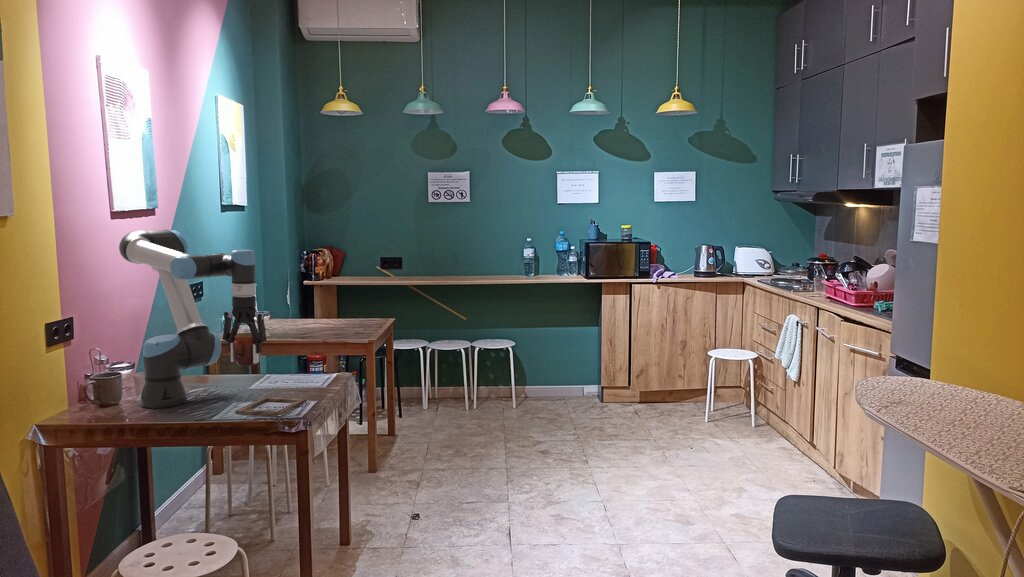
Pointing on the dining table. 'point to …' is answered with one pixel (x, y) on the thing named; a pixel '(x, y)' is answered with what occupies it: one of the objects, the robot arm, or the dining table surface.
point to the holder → (257, 412)
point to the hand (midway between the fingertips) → (245, 361)
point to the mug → (244, 349)
